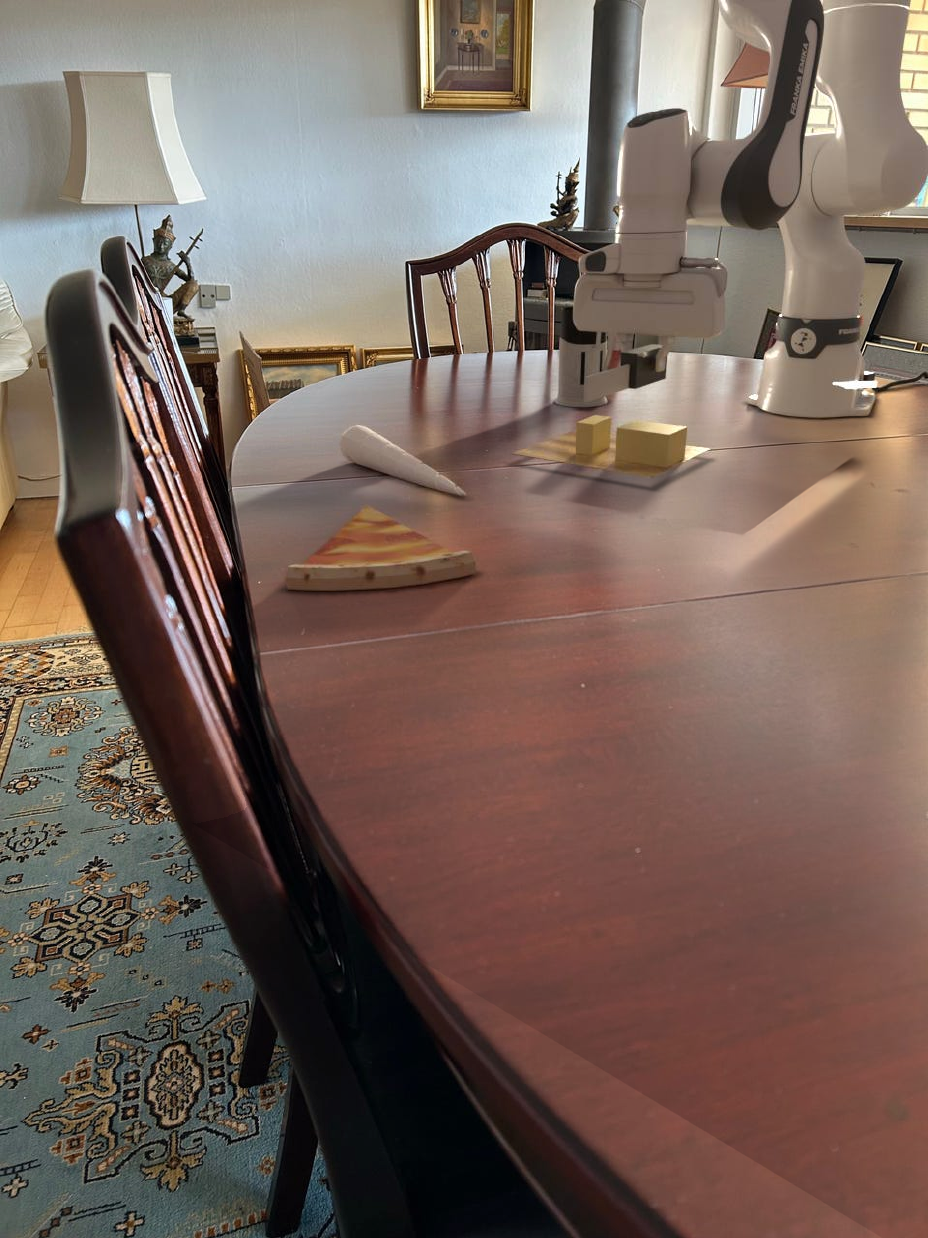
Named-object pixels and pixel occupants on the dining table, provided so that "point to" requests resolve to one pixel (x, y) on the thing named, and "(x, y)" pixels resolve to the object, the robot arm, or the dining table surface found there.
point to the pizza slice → (377, 558)
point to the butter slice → (593, 435)
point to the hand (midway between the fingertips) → (643, 369)
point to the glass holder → (580, 360)
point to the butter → (650, 443)
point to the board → (597, 456)
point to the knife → (625, 374)
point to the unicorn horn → (391, 459)
